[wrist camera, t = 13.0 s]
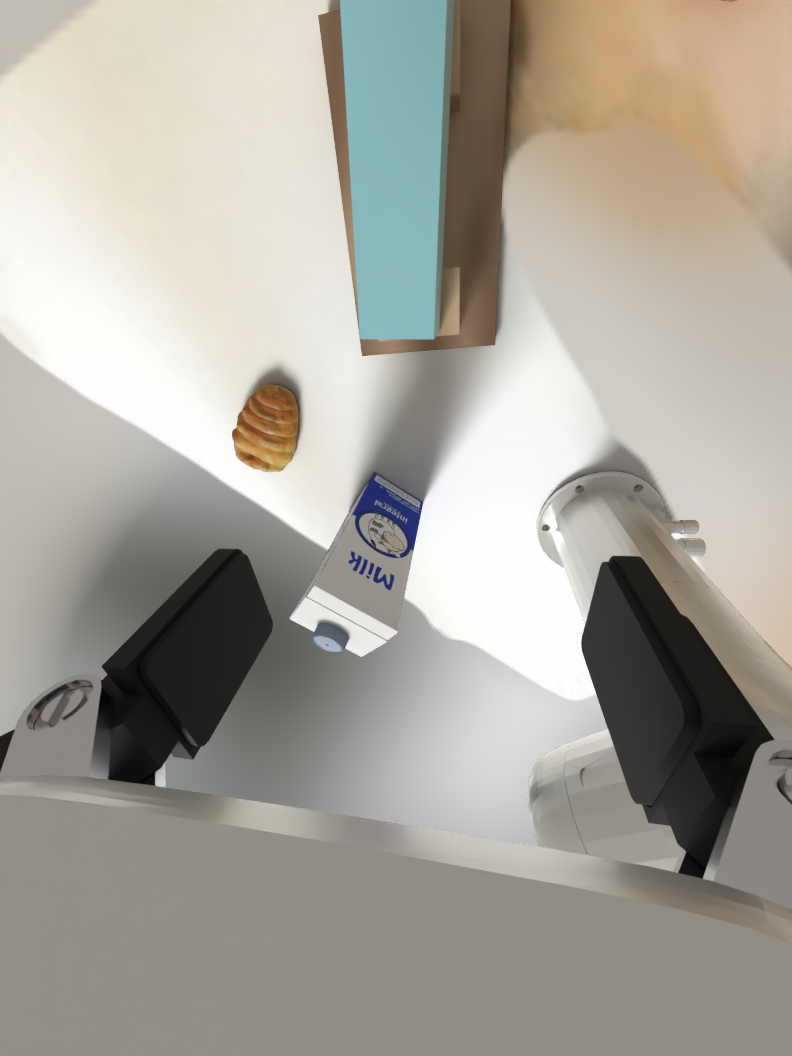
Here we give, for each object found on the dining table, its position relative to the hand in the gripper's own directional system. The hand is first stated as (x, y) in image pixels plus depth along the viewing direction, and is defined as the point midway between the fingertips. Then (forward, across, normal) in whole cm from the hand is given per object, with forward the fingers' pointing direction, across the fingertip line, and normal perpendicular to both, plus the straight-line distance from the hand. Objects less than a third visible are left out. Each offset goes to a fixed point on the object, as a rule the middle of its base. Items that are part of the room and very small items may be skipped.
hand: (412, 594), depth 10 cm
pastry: (+31, +20, +4) cm, 37 cm away
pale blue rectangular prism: (+23, +2, -13) cm, 26 cm away
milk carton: (+31, +8, +14) cm, 34 cm away
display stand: (+30, +2, -13) cm, 33 cm away
